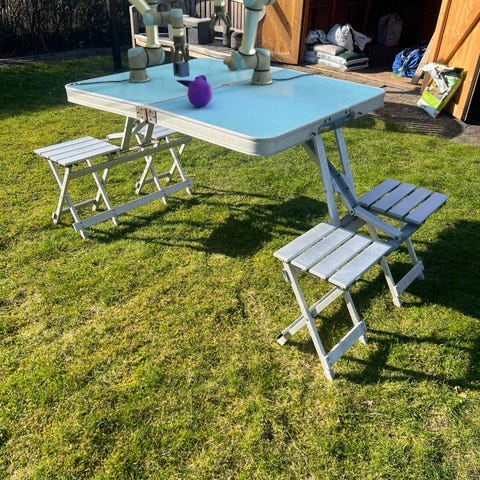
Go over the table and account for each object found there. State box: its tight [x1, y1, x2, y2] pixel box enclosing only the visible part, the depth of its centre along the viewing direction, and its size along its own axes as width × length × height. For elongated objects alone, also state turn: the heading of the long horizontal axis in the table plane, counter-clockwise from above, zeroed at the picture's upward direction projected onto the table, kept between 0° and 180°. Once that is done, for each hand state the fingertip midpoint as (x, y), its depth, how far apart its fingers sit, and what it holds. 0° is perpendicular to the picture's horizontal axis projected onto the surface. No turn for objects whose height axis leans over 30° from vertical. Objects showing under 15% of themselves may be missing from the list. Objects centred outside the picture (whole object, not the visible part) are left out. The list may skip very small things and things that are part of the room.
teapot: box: [222, 50, 239, 72], centre depth 367 cm, size 21×12×15 cm, turn 120°
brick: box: [172, 60, 190, 78], centre depth 301 cm, size 7×9×8 cm
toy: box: [176, 74, 214, 108], centre depth 269 cm, size 16×18×27 cm
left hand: (181, 72), depth 303 cm, fingers closed on brick, 7 cm apart
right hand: (220, 37), depth 331 cm, fingers open, 13 cm apart
